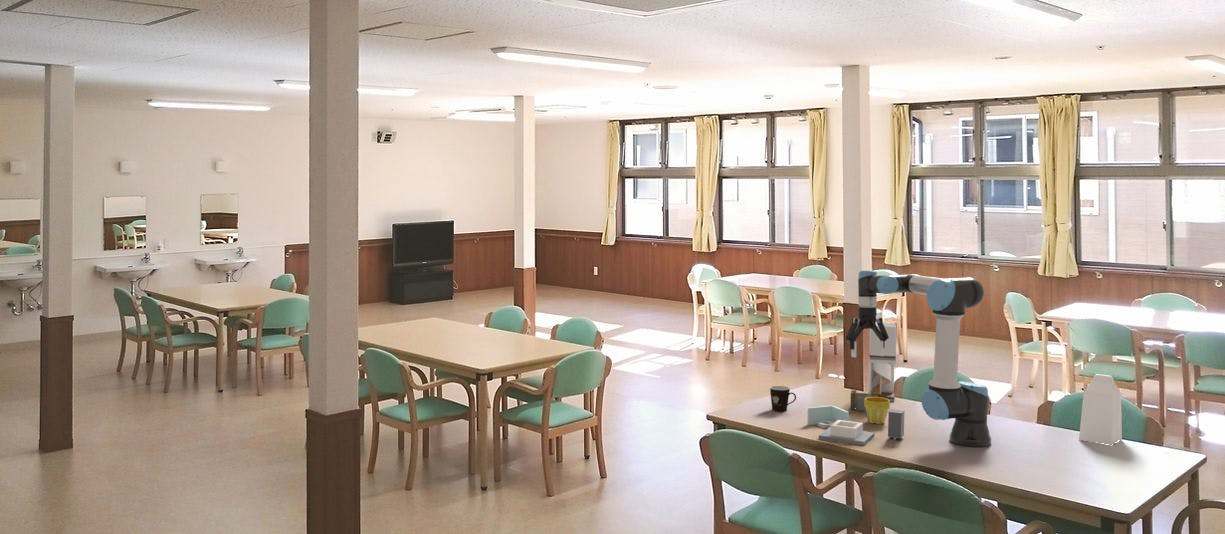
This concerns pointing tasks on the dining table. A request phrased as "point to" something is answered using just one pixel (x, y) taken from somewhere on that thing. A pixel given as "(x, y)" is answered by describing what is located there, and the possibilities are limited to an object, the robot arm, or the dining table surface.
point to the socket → (847, 433)
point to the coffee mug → (780, 398)
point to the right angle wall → (826, 415)
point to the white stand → (882, 364)
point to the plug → (896, 423)
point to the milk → (1101, 411)
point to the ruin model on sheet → (859, 400)
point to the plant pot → (876, 409)
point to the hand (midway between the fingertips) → (867, 356)
